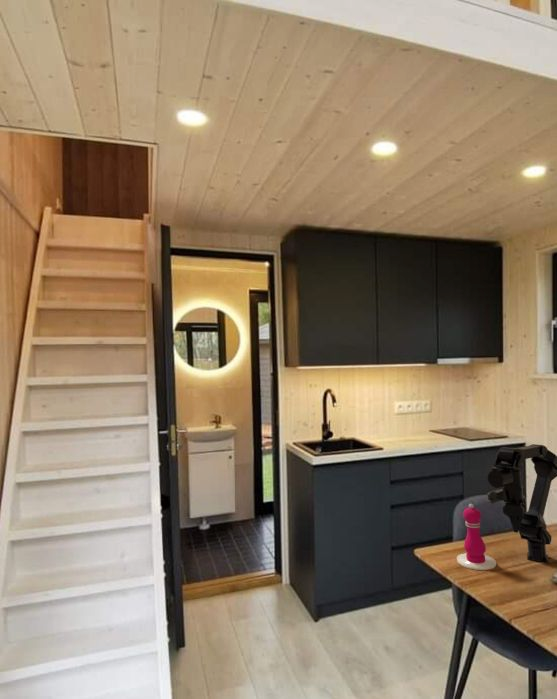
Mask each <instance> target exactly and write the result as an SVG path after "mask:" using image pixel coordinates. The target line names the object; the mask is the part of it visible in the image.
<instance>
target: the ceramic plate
mask: <svg viewBox="0 0 557 699" xmlns="http://www.w3.org/2000/svg"><path fill="white" fill-rule="evenodd" d="M466 554H467V552H465V553H461V554H458V555H457V557H456V562H457V563H458V564H459V566H462V567H463V568H466V569H470V570H476V571H489V570H492V569H494V568H495V569H496V567H497V561H496V560H495V559H494V558H493V557H491V556H489V555H486V554H484V555H485V562H484V563H472V562H469V561H468V560H467V558H466Z"/></svg>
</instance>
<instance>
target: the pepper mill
mask: <svg viewBox="0 0 557 699" xmlns="http://www.w3.org/2000/svg"><path fill="white" fill-rule="evenodd" d="M462 515H463V518H464V520H465V526H466V529H467V533H466V537H465V539H464V543H463V547H464V548H463V549H464V550H465V553H467V554H466V558H467V560H468V561H469V562H472V563H484V562H485V555H486V554H485V553H486V551H487V548H486V544H485V542H484V540H483V538H482V536H481V533H480V532H481V531H480V528H481V522H480V521H481V519H482V514H481V512H480V510H479V509H477V508H475V506H474V504H473V503H469V504H468V507H467V508H465V509H464V510H463V513H462Z"/></svg>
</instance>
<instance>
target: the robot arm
mask: <svg viewBox="0 0 557 699" xmlns="http://www.w3.org/2000/svg"><path fill="white" fill-rule="evenodd" d="M528 459H530V461H531V462H532V463H533V464H534V465H533V469H534V471H535V474H536V479H535V483H534V486H533V490H532V495H531V499H530V503H529V507H528V511H525V508H526V502H527V501H526V500H527V499H526V498H527V497H526V496H525V495H524V493H523V489H524V488H523V484H522V483H523V481H522V472H521V471H522V470H523V469H524V467H523V465H521V464H523V463H525V460H528ZM555 478H557V455H556V454H555V453H554V452H552V451H550V450H549V449H548V448H547V447H546V445H544V444H529V445H527V446H520V447H516V448H515V447H505V446H501V447H500V448H499V450H498V451H497V454H496V456H495V460H494V463H493V466H492V470H491V471H490V472H488V475H487V481H488V483H489V485H491V487H493V488H496V490H492V491H489V492H488V493H487V494H486V496H487V499H488V501H489V503H490V504H495V503H498V502H502V501H503V503H504V504H502V513H503V514H504V515H505V516H507V517H508V518H509V521H510V524H511V527H512V530H513V532H514V533H516V534H517V533H519V535H520V538H521V540H525V541H526V542H527V543H526V544H527V551H528V552H527V554H526V559H527V560H530V561H531V560H532V561H537V562H543V563H549V554H547V547H546V545H551V542H552V535H551V534H550V532H549V531H548V530H547V522H546V520H545V518H544V515H545V511H546V507H547V501H548V497H549V493H550V489H551V485H552V481H553V480H554V479H555ZM499 488H500V489H499Z"/></svg>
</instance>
